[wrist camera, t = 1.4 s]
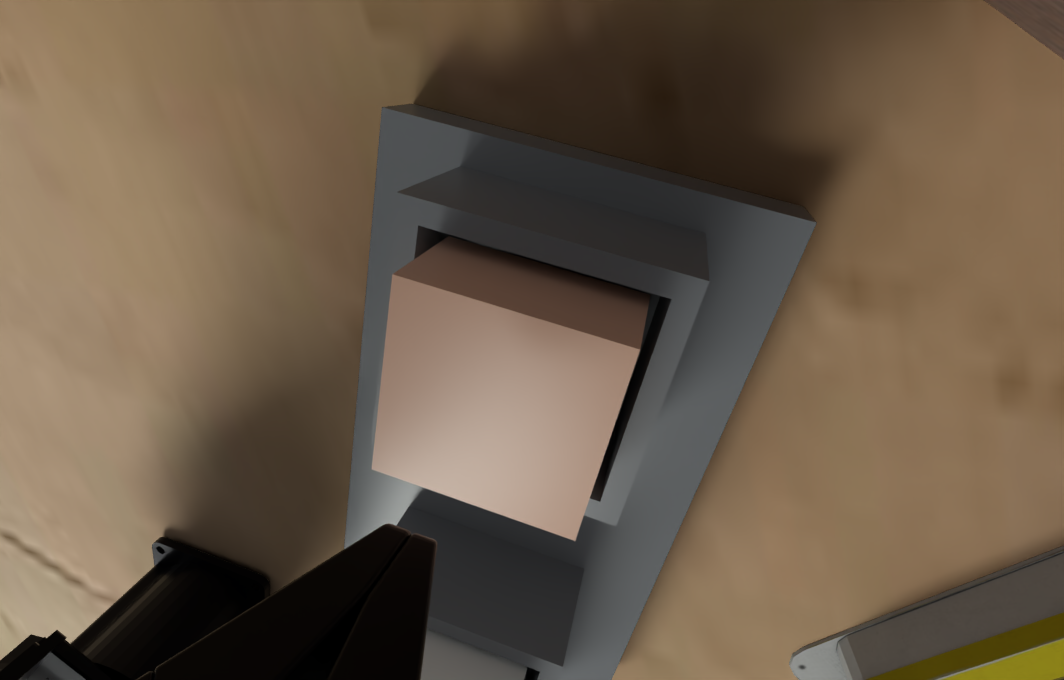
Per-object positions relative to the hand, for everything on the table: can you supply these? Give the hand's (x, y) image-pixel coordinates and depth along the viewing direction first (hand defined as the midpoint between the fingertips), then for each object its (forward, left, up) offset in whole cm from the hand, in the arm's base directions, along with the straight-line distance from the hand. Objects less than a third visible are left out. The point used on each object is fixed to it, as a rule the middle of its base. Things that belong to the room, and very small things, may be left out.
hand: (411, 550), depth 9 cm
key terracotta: (0, 0, -7) cm, 7 cm away
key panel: (0, -6, -12) cm, 14 cm away
